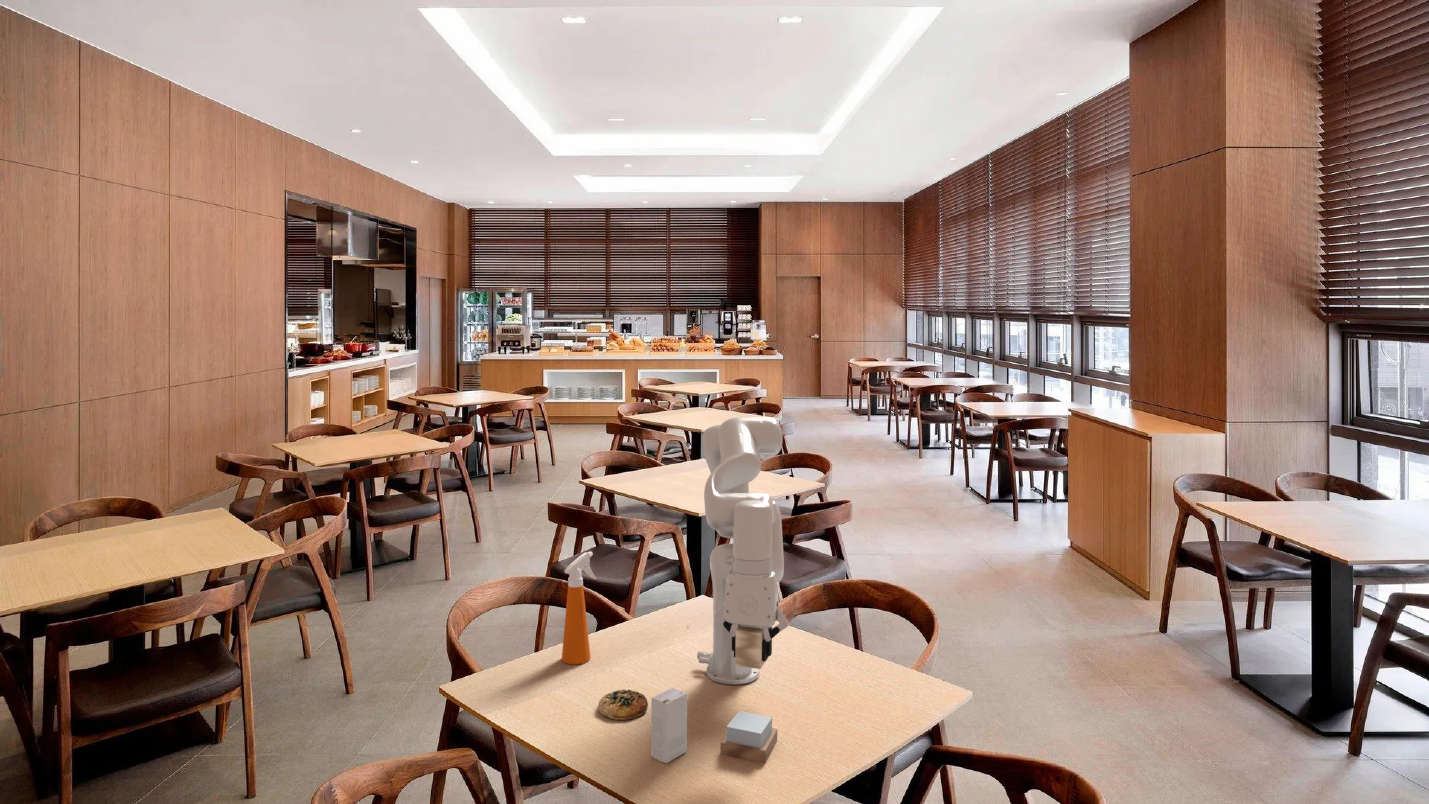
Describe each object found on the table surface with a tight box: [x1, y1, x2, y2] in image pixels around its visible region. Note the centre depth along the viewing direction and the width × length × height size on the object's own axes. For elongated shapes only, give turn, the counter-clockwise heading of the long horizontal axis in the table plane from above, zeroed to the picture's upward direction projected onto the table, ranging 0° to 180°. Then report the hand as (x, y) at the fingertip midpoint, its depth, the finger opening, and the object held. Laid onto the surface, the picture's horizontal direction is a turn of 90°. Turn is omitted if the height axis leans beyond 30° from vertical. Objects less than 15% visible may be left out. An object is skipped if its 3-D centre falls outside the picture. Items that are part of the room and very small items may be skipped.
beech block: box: [735, 625, 767, 670], centre depth 158 cm, size 5×5×7 cm
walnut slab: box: [720, 727, 778, 764], centre depth 160 cm, size 9×9×3 cm
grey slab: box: [726, 710, 773, 748], centre depth 160 cm, size 7×7×3 cm
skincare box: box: [650, 687, 688, 764], centre depth 157 cm, size 6×4×12 cm
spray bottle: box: [561, 551, 598, 666], centre depth 204 cm, size 7×11×26 cm, turn 144°
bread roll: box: [597, 689, 649, 721], centre depth 176 cm, size 11×11×5 cm
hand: (751, 655), depth 159 cm, fingers closed on beech block, 5 cm apart
